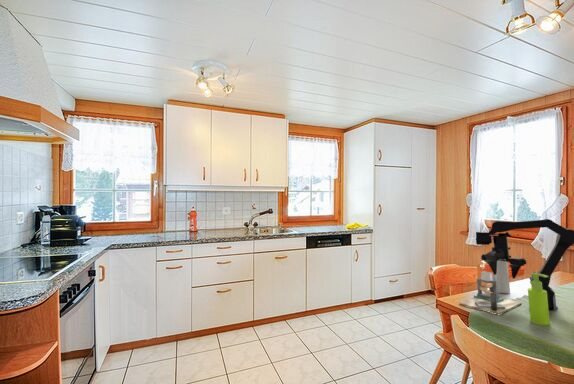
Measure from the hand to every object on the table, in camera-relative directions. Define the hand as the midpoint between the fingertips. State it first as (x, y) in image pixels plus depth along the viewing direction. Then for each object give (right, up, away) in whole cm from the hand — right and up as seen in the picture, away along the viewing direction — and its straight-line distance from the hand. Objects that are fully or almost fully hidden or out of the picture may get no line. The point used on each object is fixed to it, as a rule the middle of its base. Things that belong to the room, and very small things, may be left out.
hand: (504, 276), depth 139 cm
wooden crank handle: (-9, -12, -5) cm, 15 cm away
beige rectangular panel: (-10, -13, -4) cm, 17 cm away
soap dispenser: (-5, -11, -26) cm, 29 cm away
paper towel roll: (+11, -14, +15) cm, 23 cm away
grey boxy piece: (-7, -11, +2) cm, 13 cm away
